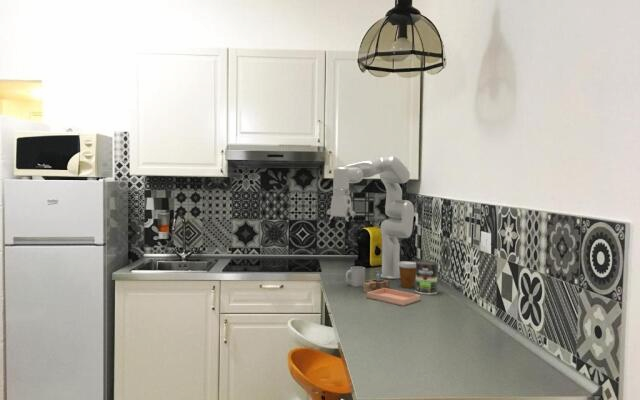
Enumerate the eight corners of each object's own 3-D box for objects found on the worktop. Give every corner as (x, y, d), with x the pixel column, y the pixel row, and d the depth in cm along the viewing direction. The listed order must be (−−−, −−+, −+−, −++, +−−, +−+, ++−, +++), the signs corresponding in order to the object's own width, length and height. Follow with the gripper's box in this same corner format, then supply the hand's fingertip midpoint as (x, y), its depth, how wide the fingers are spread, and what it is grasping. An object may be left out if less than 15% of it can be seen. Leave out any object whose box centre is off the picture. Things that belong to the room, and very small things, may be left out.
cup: (366, 286, 232) (366, 268, 232) (347, 287, 230) (347, 269, 230) (362, 283, 239) (362, 266, 239) (343, 284, 237) (343, 266, 237)
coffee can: (436, 295, 215) (436, 265, 214) (413, 293, 218) (414, 263, 218) (438, 290, 224) (439, 261, 224) (416, 288, 228) (417, 260, 227)
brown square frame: (376, 286, 233) (376, 278, 233) (389, 288, 227) (389, 280, 227) (358, 290, 223) (359, 282, 222) (372, 293, 217) (372, 285, 217)
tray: (384, 293, 218) (384, 287, 218) (420, 300, 205) (420, 294, 205) (366, 298, 209) (366, 292, 208) (403, 306, 195) (403, 300, 195)
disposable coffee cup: (420, 286, 234) (421, 262, 233) (410, 289, 226) (411, 264, 226) (404, 283, 240) (404, 260, 239) (394, 286, 233) (394, 262, 232)
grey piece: (377, 287, 230) (377, 270, 230) (384, 288, 227) (384, 271, 227) (372, 288, 227) (372, 271, 227) (379, 290, 224) (379, 272, 224)
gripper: (360, 193, 219) (359, 230, 219) (333, 192, 231) (332, 227, 232) (349, 193, 214) (349, 230, 214) (322, 192, 226) (321, 228, 226)
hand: (340, 229), depth 223 cm, fingers open, 9 cm apart
